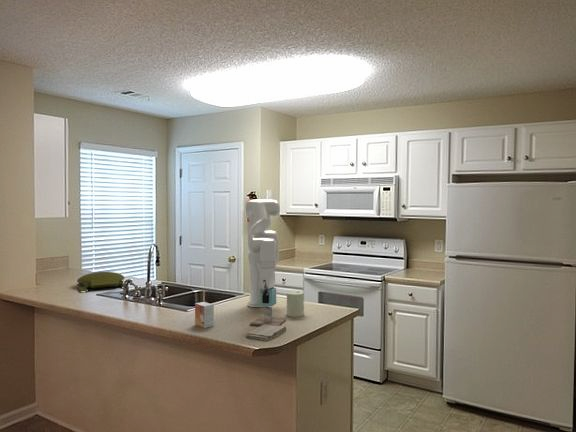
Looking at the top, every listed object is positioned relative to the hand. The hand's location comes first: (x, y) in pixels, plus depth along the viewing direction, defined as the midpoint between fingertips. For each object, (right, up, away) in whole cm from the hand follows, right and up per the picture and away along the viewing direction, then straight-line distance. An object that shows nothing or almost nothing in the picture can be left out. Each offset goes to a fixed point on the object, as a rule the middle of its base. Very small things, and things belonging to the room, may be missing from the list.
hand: (268, 301), depth 221 cm
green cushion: (-120, -8, +96) cm, 154 cm away
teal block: (0, -2, 0) cm, 2 cm away
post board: (0, -11, +1) cm, 11 cm away
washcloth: (0, -12, -17) cm, 21 cm away
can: (+13, -10, +17) cm, 24 cm away
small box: (-31, -11, -3) cm, 33 cm away
